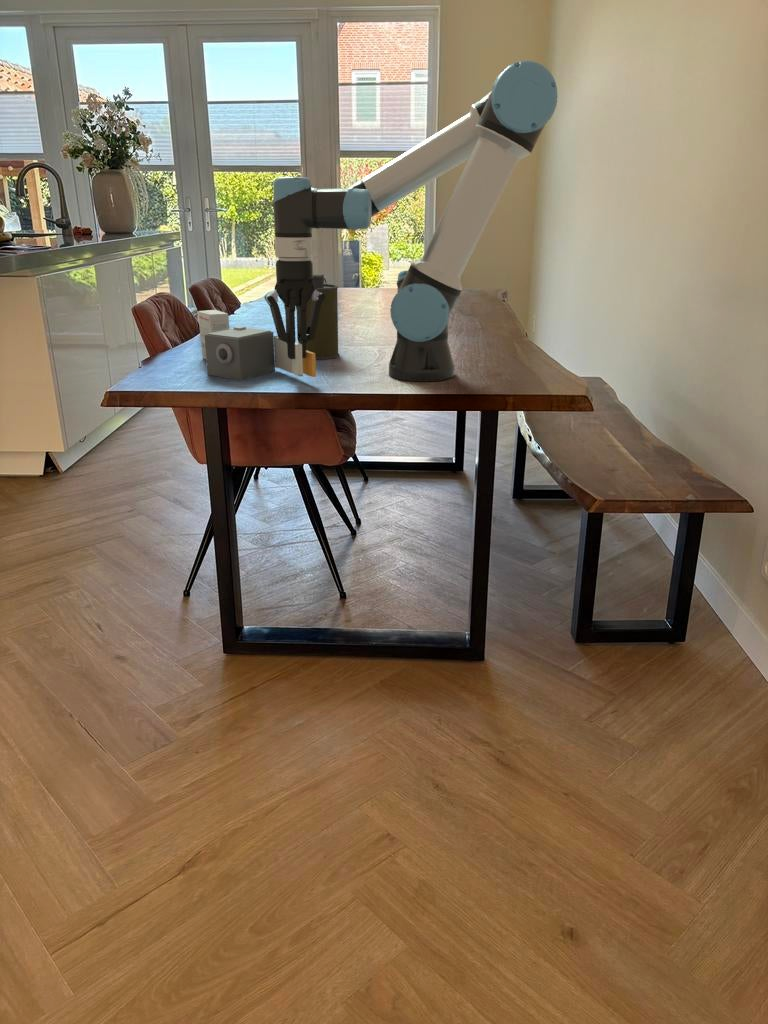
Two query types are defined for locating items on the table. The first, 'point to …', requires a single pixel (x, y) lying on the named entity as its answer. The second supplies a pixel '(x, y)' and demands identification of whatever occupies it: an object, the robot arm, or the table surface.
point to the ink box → (211, 324)
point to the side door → (286, 363)
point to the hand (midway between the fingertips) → (297, 373)
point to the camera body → (240, 352)
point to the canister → (325, 321)
